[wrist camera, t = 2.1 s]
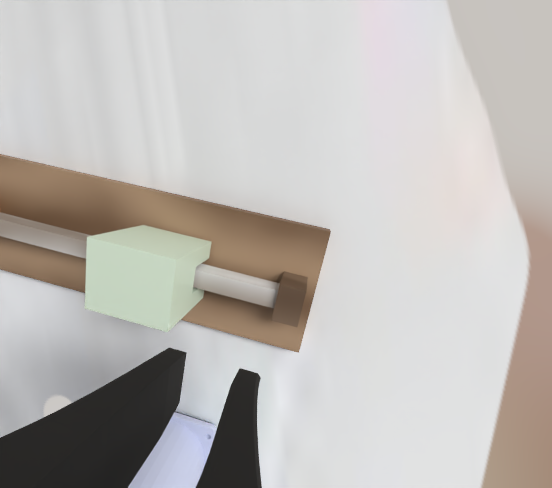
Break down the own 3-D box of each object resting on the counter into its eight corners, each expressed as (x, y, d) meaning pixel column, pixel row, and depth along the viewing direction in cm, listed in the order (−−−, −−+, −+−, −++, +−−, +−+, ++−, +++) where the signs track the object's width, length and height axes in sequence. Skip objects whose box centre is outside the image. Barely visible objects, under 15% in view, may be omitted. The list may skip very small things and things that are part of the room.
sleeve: (203, 297, 18) (167, 332, 14) (138, 280, 18) (84, 308, 14) (211, 241, 17) (176, 259, 13) (143, 224, 18) (86, 236, 13)
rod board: (299, 344, 19) (295, 381, 15) (-18, 256, 22) (-86, 270, 18) (329, 229, 17) (333, 240, 13) (-27, 148, 20) (-105, 138, 16)
